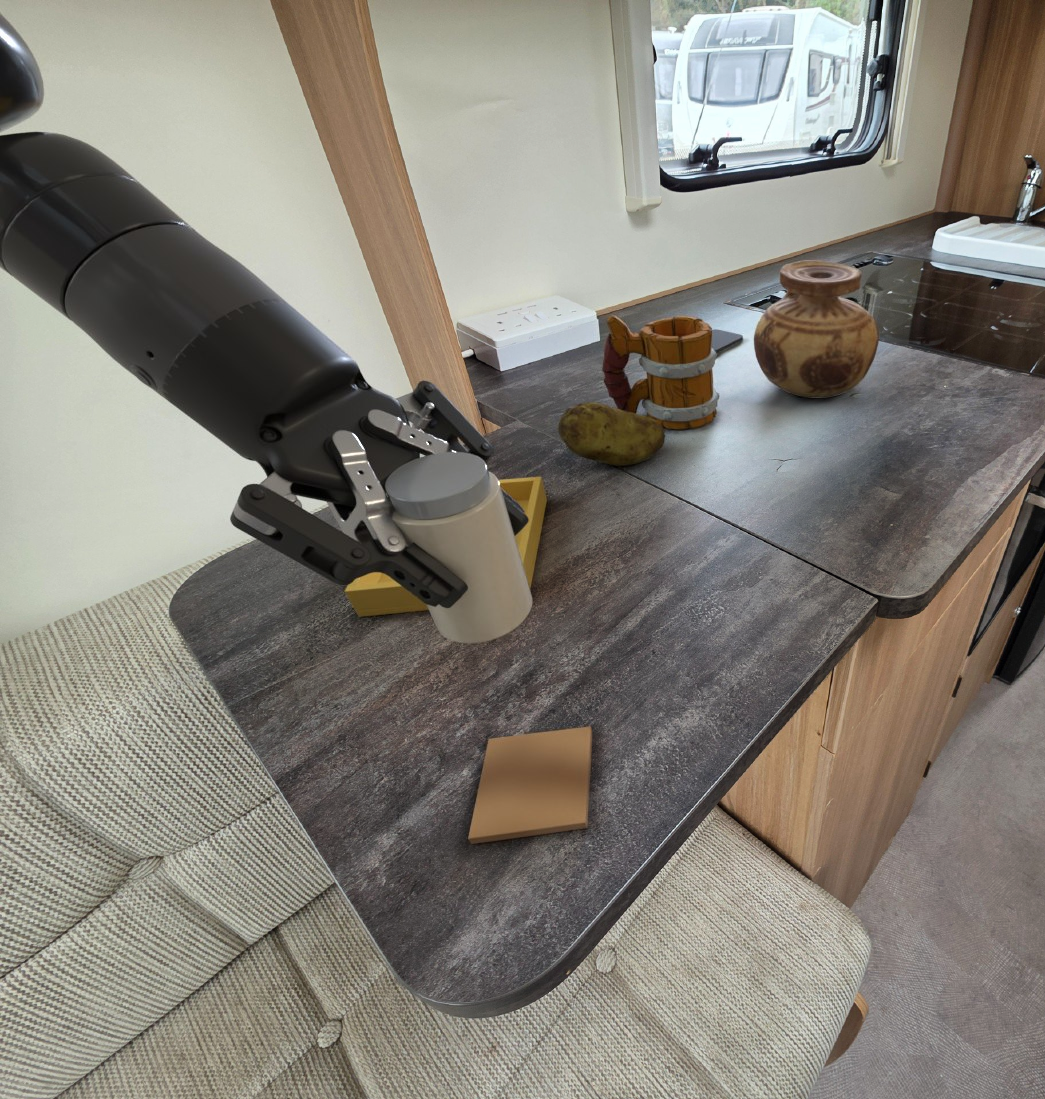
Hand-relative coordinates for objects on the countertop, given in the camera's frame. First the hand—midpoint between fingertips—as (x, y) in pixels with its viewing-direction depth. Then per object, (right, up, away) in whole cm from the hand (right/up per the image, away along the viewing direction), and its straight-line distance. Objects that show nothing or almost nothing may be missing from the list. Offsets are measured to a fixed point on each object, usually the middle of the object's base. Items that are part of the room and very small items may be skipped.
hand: (491, 561), depth 36 cm
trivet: (0, -16, +7) cm, 18 cm away
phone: (+10, +38, +75) cm, 84 cm away
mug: (+5, +20, +53) cm, 57 cm away
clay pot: (+27, +27, +61) cm, 72 cm away
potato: (-1, +12, +43) cm, 45 cm away
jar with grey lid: (-2, -3, +3) cm, 5 cm away
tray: (-14, 0, +28) cm, 31 cm away
